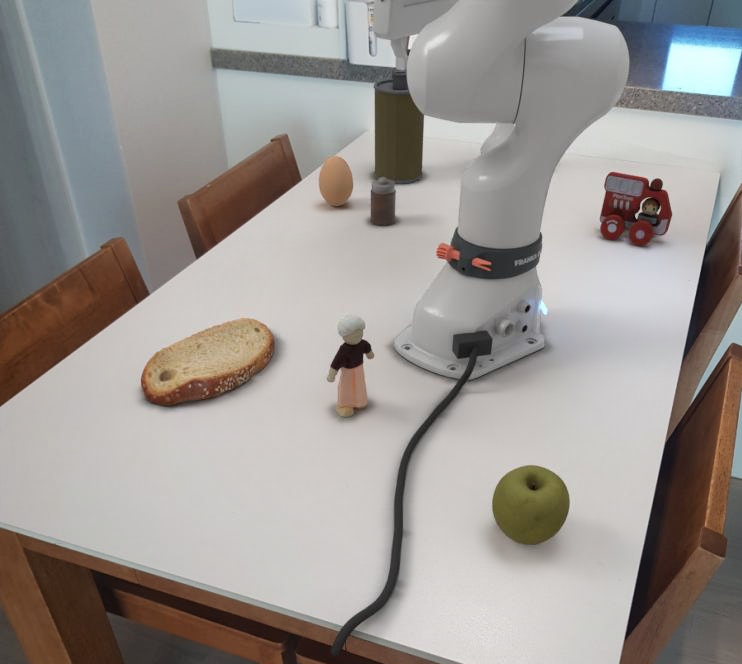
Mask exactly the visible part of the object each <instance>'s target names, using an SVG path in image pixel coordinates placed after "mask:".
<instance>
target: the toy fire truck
mask: <svg viewBox="0 0 742 664" xmlns="http://www.w3.org/2000/svg"><path fill="white" fill-rule="evenodd" d="M663 186H664V181H663V180H662V179H661V178H658V177H657V178H654V179H652V180H651V181H649V179H648V178H647V177H644V176H639V175H632V174H627V173H621V172H616V171H610V172H609V173H608V174H607V175H606V177H605V180H604V185H603V188H604V190H605V192H604V197H603V202H602V205H601V211H600V216H599V222H600V223H601V224H600V228H599V229H600V234H601V235H602V236H603V238H605V239H607V240H611V241H613V240H616V239H618V238H620V237H621V236H622V234H624V232H625V230H628V239H629V241H630V242H631V243H632V244H633V245H635V246H639V247H640V246H641V247H642V246H645V245H647V244H649V243H650V242H651V240H652V239H653V237H654V236H658V237H662V236H664V235H666V233H667V232H668V231H669V228H670V225H671V221H672V219H673V212H672V211H673V210H672V207H671V202H670V197H669V193H668V191H667V190H666V189H663ZM640 210H641V212H640ZM636 215H637V217H636Z"/></svg>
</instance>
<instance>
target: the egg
mask: <svg viewBox="0 0 742 664" xmlns="http://www.w3.org/2000/svg"><path fill="white" fill-rule="evenodd" d="M318 189H319V192H320V195H321V196H322V198H323V199H324V200H325V202H326V203H327V204H329V205H331V206H332V207H340V206H342V205H344V204H346V203H347V202H348V201H349V199H350V198H351V196H352V193H353V190H354V176H353V172H352V170H351V168H350V166H349V164H348V162H347V161H346V160H345V159H344V158H342V157H341V156H339V155H333V156H330V157H329V158H327V159H326V160H325V161H324V162H323V164H322V166H321V168H320V171H319V175H318Z"/></svg>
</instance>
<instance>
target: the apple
mask: <svg viewBox="0 0 742 664" xmlns="http://www.w3.org/2000/svg"><path fill="white" fill-rule="evenodd" d="M494 488H495V489H494V491H493V494H492V502H491V510H492V515H493V519H494V521H495V524H496V525H497V526H498V528H499V529H500V531H501V533H503V534H504V535H505V537H507V538H508V539H510V540H512V541H513V542H515V543H517V544H519V545H524V546H535V545H539V544H542V543H545V542H546V541H549V540H551V539H552V538H553V537H555V536H556V535H557V534H558V533H559V531H560V530H561V529H562V528H563V526H564V525H565V523H566V521H567V518H568V516H569V512H570V504H571V499H570V493H569V490H568V487H567V486H566V483H565V482H564V480H563V479H562V478H561V476H560V475H558V474H557V473H556V472H554V471H552V470H551V469H549V468H547V467H543V466H541V465H536V464H535V465H534V464H528V465H522V466H519V467H516V468H513V469H512V470H510V471H508V472H507V473H505V475H503V476H502V477H501V478H500V479H499V480H498V483H497V484H496V486H495V487H494Z"/></svg>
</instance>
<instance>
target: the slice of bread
mask: <svg viewBox="0 0 742 664" xmlns="http://www.w3.org/2000/svg"><path fill="white" fill-rule="evenodd" d="M275 344H276V342H275V338H274V335H273V333H272V332H271V330H270V328H269V327H268V326H267V325H266V324H265V323H263V322H261V321H259V320H258V319H254V318H246V317H241V318H238V319H233V320H231V321H229V320H228V321H225V322H222V323H221V324H217V325H214V326H212V327H208V328H205V329H204V330H201V331H199V332H196V333H193V334H191V335H190V336H187V337H185V338H183V339H181V340H178V341H176V342H173V344H170V345H168V346H167V347H163V348H162V349H160V350H158V351H156V352H155V353H154V354H153V355H152V357H150V358H149V360H148V361H147V362H146V365H145V366H144V368H143V370H142V373H141V376H140V386H141V389H142V392H143V395H144V397H145V399H146V400H147V401H148V402H150V403H155V404H158V405H163V406H174V405H177V404H178V403H185V402H190V401H200V400H205V399H211V398H214V397H215V398H216V397H218V396H220V395H222V394H223V393H225V392H230V391H231V390H233V389H235V388H237V387H240V386H241V385H242V384H244V383H247V382H248V381H249V380H251V378H252V376H254V375H255V374H256V373H258V372H260V371H262V370H263V369H264V368H265V367H266V366H267V365H268V363H269V362H270V360H271V358H272V357H273V355H274V354H275V348H276V347H275Z"/></svg>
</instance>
